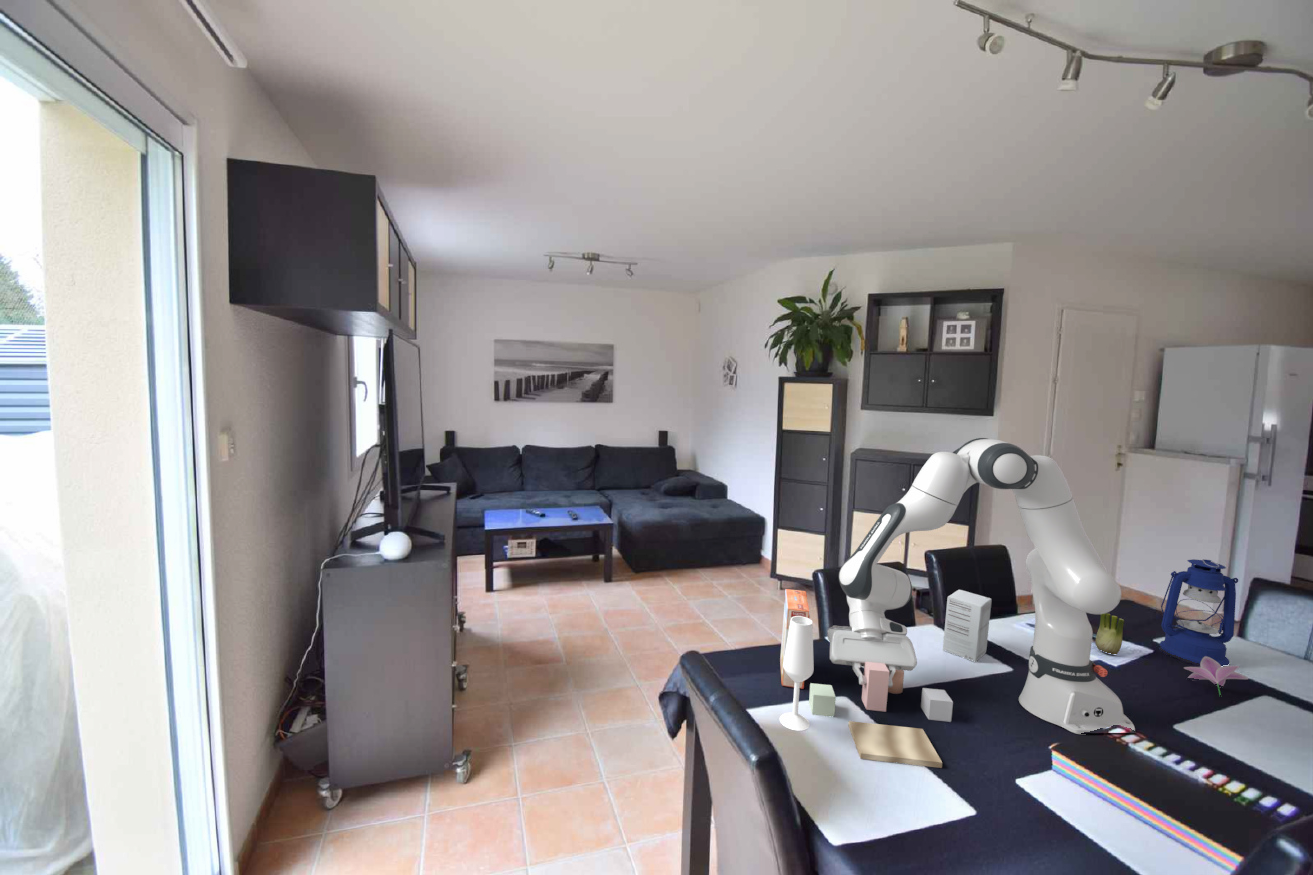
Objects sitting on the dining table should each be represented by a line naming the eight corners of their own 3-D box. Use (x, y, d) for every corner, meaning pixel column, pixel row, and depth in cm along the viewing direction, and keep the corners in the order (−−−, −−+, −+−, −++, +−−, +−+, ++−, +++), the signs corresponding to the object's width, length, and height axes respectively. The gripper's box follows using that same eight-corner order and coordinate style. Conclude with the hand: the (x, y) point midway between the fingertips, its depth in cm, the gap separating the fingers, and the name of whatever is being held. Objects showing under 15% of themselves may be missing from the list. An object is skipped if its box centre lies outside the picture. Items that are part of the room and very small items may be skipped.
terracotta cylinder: (898, 684, 142) (900, 665, 142) (905, 694, 138) (907, 675, 137) (879, 682, 143) (880, 663, 143) (884, 692, 138) (886, 673, 138)
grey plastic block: (942, 709, 132) (944, 690, 131) (951, 722, 127) (953, 702, 126) (920, 707, 132) (922, 687, 132) (928, 719, 127) (930, 699, 127)
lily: (1256, 704, 141) (1246, 664, 145) (1249, 699, 135) (1238, 658, 139) (1193, 697, 150) (1185, 660, 154) (1183, 693, 144) (1175, 654, 148)
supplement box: (953, 641, 168) (958, 588, 167) (986, 652, 162) (992, 598, 160) (941, 650, 162) (946, 595, 160) (975, 663, 155) (981, 606, 154)
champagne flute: (810, 716, 127) (817, 617, 124) (808, 733, 120) (816, 629, 118) (781, 710, 129) (787, 612, 126) (777, 726, 123) (784, 623, 120)
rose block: (880, 700, 134) (883, 662, 133) (885, 711, 130) (889, 671, 129) (861, 698, 135) (864, 660, 134) (866, 709, 130) (869, 669, 129)
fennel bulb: (1122, 658, 162) (1127, 619, 161) (1105, 657, 162) (1110, 618, 161) (1106, 648, 168) (1111, 611, 166) (1090, 647, 168) (1095, 610, 166)
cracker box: (805, 690, 138) (810, 610, 136) (780, 686, 139) (786, 607, 137) (801, 663, 151) (807, 590, 149) (779, 660, 153) (784, 587, 150)
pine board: (922, 733, 122) (922, 728, 122) (941, 768, 111) (942, 762, 111) (848, 726, 124) (848, 721, 124) (860, 758, 113) (860, 753, 113)
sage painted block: (830, 704, 132) (831, 685, 131) (834, 717, 127) (835, 697, 126) (808, 702, 132) (810, 683, 132) (812, 715, 128) (813, 694, 127)
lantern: (1173, 663, 160) (1187, 563, 157) (1144, 640, 174) (1156, 549, 171) (1247, 674, 155) (1263, 572, 152) (1211, 649, 169) (1225, 556, 166)
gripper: (828, 620, 138) (834, 677, 130) (913, 627, 136) (924, 685, 127) (824, 629, 143) (829, 684, 135) (905, 636, 141) (915, 693, 132)
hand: (876, 685), depth 131 cm, fingers closed on rose block, 4 cm apart
